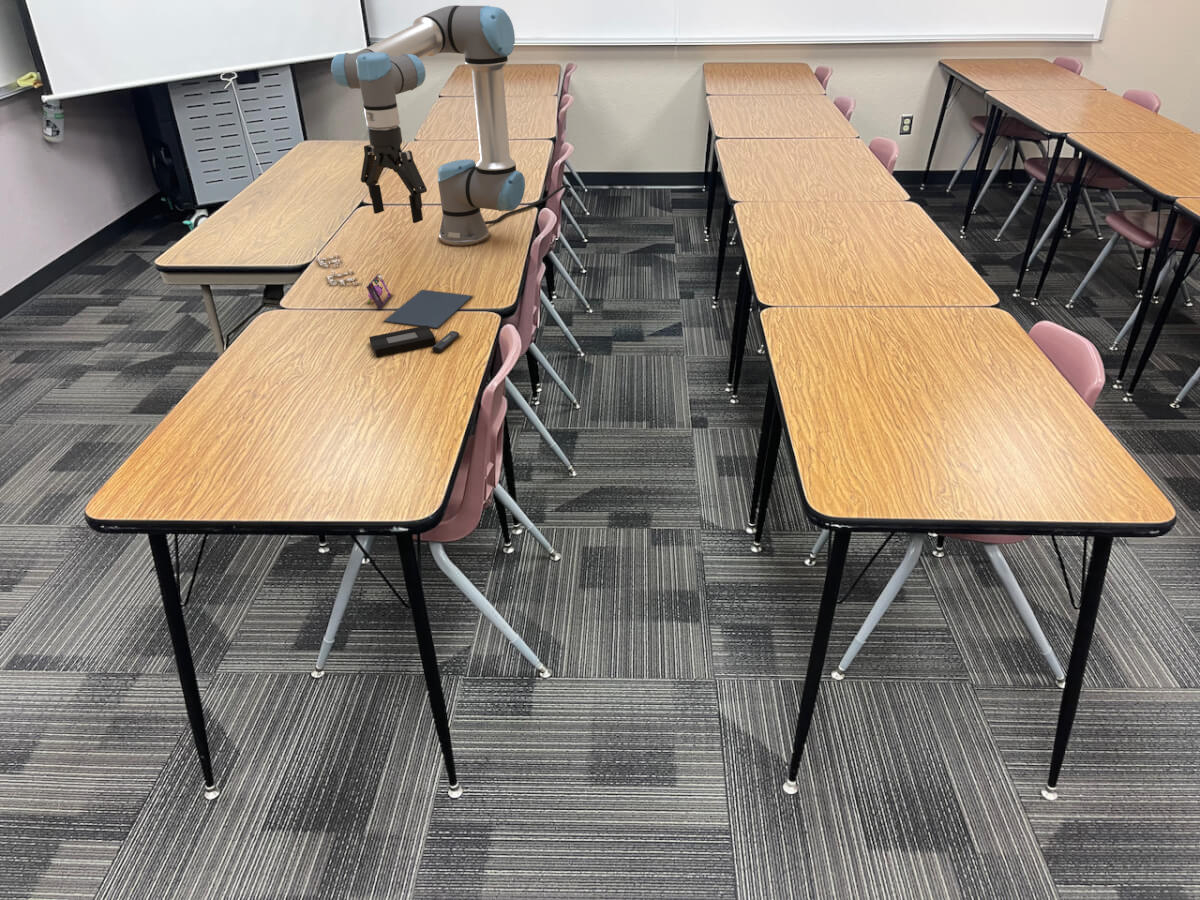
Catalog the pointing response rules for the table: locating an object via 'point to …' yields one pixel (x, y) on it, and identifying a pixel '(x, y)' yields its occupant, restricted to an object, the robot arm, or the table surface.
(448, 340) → the usb stick
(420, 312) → the mat
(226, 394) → the table surface
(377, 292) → the game card
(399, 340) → the vhs tape
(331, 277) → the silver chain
